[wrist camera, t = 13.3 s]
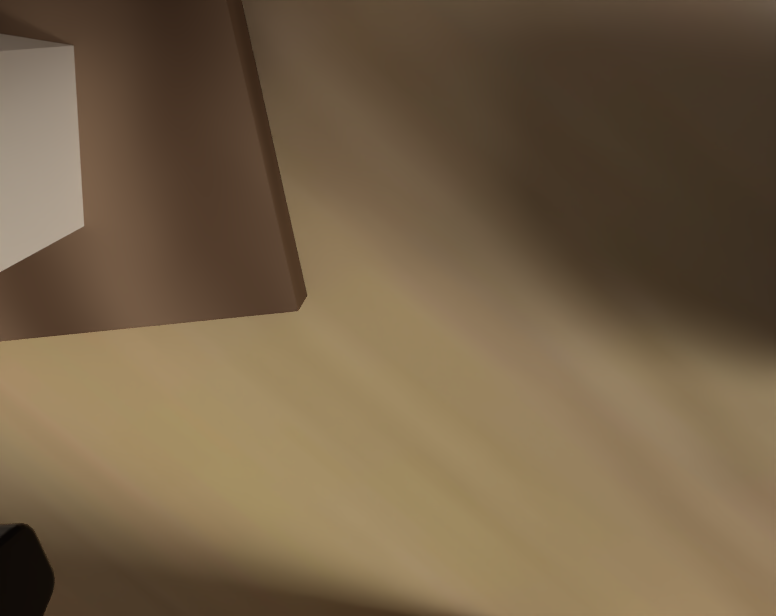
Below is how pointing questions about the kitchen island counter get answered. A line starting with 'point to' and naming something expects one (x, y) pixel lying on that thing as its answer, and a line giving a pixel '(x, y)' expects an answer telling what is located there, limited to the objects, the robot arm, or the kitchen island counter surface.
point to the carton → (37, 147)
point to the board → (158, 174)
